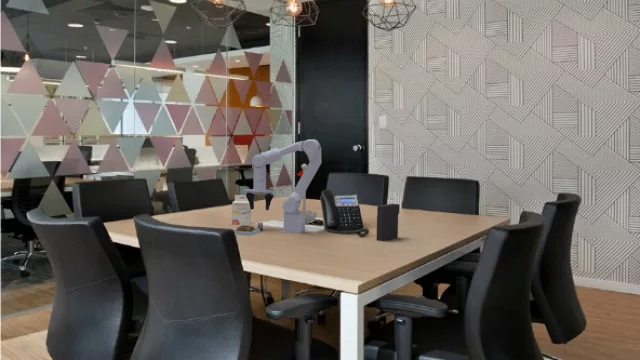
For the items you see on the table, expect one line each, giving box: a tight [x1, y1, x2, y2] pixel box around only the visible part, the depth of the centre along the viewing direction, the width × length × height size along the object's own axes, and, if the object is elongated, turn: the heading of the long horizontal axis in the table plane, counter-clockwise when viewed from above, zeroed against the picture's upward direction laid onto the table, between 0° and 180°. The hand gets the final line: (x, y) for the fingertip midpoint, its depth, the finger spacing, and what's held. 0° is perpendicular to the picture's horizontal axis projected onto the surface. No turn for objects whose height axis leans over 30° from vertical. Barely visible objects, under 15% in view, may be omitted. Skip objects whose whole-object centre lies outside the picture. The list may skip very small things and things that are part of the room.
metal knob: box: [257, 222, 267, 232], centre depth 260 cm, size 5×5×4 cm
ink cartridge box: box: [231, 194, 252, 226], centre depth 277 cm, size 9×5×15 cm, turn 84°
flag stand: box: [296, 163, 318, 225], centre depth 287 cm, size 13×13×30 cm
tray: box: [234, 227, 261, 236], centre depth 252 cm, size 10×10×2 cm
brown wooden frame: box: [236, 225, 255, 232], centre depth 253 cm, size 7×6×3 cm
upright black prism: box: [376, 203, 400, 242], centre depth 243 cm, size 11×4×15 cm, turn 134°
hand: (259, 209), depth 261 cm, fingers open, 7 cm apart
